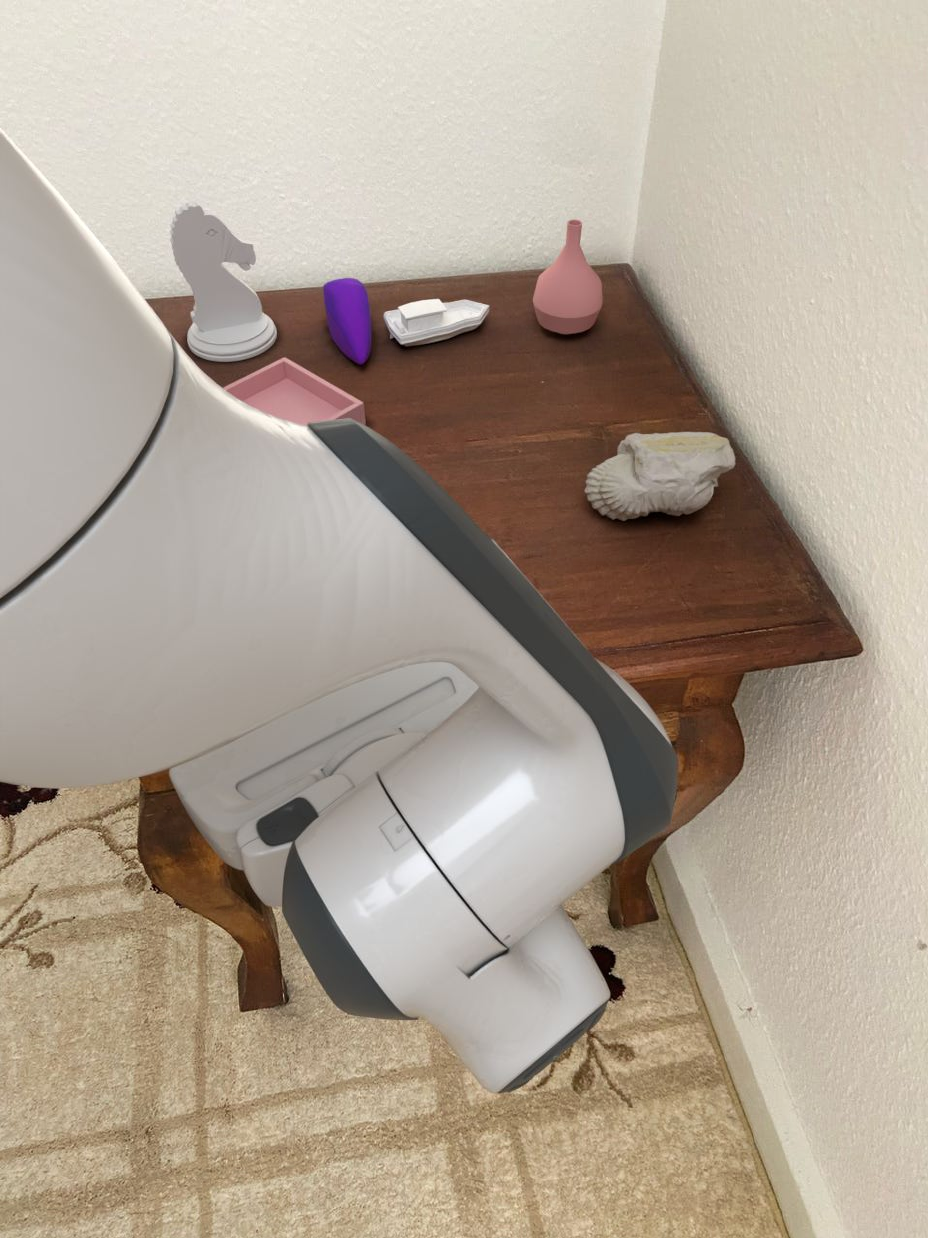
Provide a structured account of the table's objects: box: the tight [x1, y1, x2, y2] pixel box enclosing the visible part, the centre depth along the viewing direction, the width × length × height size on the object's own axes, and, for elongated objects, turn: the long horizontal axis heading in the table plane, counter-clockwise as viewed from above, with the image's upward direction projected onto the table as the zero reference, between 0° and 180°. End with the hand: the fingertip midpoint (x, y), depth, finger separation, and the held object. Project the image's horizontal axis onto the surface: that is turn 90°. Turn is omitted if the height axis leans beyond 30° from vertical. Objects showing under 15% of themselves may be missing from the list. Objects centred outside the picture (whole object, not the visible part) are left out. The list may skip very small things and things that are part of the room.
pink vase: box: [532, 219, 604, 335], centre depth 94 cm, size 8×8×12 cm
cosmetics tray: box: [222, 356, 367, 426], centre depth 85 cm, size 14×12×3 cm
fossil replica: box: [584, 431, 736, 522], centre depth 75 cm, size 12×8×10 cm
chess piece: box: [169, 200, 278, 363], centre depth 92 cm, size 10×10×15 cm
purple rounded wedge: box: [322, 277, 373, 366], centre depth 96 cm, size 5×5×15 cm
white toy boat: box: [383, 298, 490, 347], centre depth 97 cm, size 6×12×3 cm, turn 112°
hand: (287, 653), depth 58 cm, fingers open, 8 cm apart
